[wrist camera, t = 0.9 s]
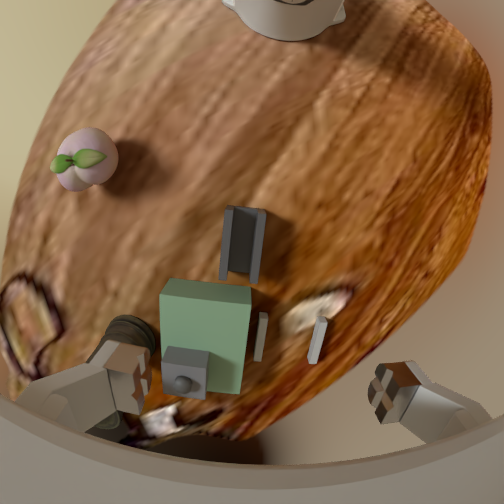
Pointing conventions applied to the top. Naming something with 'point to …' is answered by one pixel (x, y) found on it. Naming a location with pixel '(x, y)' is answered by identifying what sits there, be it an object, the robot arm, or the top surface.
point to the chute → (242, 241)
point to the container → (130, 333)
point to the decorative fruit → (85, 159)
